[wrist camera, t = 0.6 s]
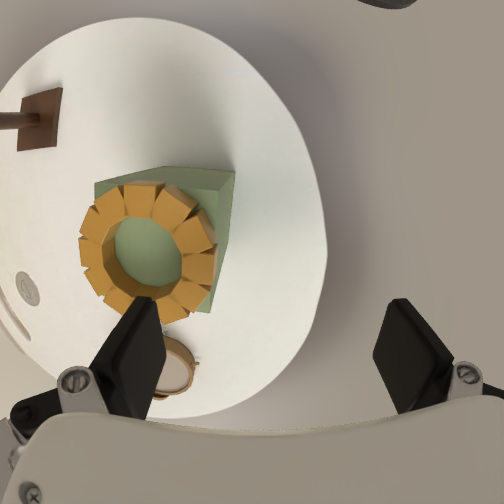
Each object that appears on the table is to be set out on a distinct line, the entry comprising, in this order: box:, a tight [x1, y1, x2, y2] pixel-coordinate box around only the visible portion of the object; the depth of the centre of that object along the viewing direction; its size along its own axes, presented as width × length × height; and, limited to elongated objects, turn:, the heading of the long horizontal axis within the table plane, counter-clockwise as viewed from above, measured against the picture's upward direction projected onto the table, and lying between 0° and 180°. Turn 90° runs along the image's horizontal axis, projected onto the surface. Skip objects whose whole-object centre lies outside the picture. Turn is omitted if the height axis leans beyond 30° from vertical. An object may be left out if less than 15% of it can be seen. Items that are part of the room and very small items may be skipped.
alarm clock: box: [152, 335, 199, 400], centre depth 41 cm, size 11×5×15 cm
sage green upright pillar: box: [95, 166, 235, 313], centre depth 25 cm, size 9×9×16 cm
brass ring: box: [78, 180, 218, 325], centre depth 17 cm, size 10×10×2 cm
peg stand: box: [0, 88, 63, 152], centre depth 23 cm, size 9×9×10 cm
